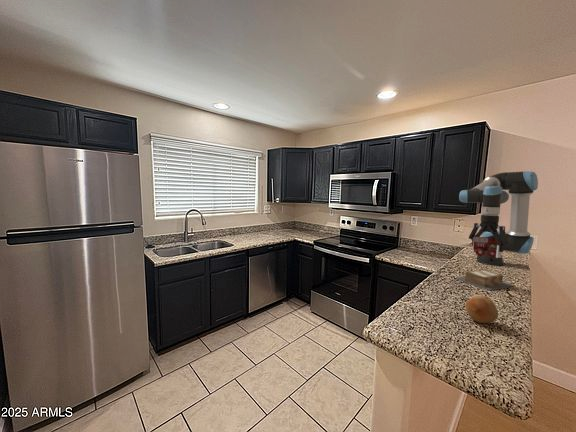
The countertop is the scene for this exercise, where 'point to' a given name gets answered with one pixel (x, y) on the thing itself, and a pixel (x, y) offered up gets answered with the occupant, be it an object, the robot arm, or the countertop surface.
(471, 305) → the onion
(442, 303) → the countertop surface
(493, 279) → the plinth
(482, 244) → the toy fire truck
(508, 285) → the build mat
